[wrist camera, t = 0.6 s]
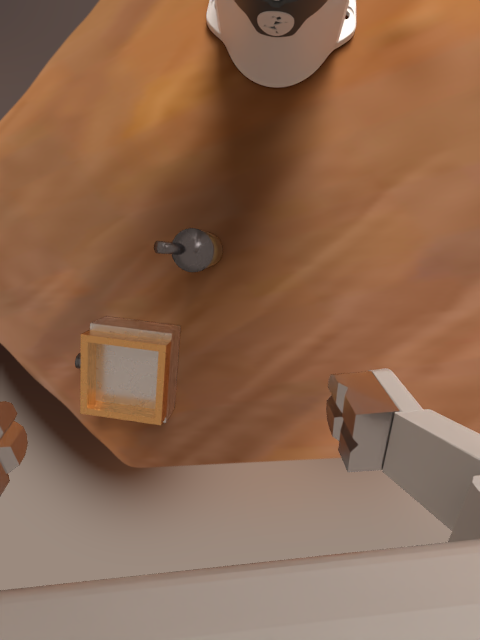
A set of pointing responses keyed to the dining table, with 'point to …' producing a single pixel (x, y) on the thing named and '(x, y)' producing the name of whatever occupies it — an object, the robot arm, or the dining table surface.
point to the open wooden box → (129, 369)
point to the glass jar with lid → (192, 249)
